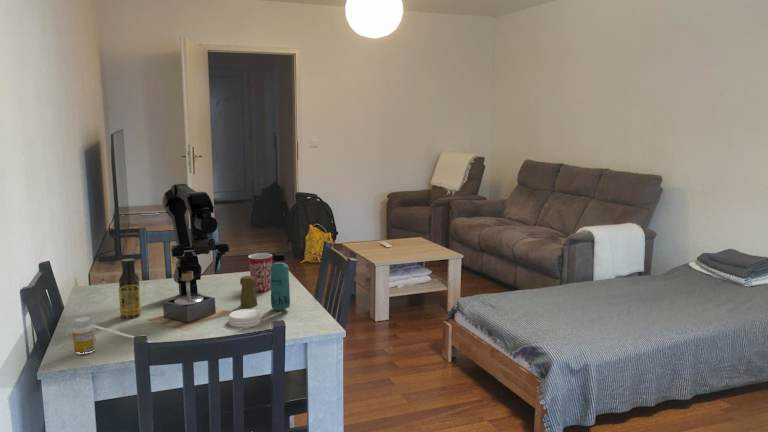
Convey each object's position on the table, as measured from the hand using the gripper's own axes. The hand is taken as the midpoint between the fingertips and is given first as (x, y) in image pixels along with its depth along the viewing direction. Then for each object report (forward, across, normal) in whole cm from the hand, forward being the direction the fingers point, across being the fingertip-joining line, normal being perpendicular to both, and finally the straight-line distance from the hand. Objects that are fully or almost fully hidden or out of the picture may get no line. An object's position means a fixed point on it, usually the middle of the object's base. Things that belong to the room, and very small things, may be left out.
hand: (201, 273), depth 200 cm
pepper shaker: (+12, +15, -7) cm, 20 cm away
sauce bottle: (+13, -23, -2) cm, 27 cm away
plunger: (+7, -5, -10) cm, 13 cm away
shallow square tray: (+12, -6, -9) cm, 16 cm away
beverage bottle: (+12, +24, -16) cm, 31 cm away
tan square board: (+12, -5, -10) cm, 17 cm away
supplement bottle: (+12, -35, -28) cm, 47 cm away
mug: (+13, +23, +15) cm, 30 cm away
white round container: (+12, +10, -23) cm, 28 cm away
